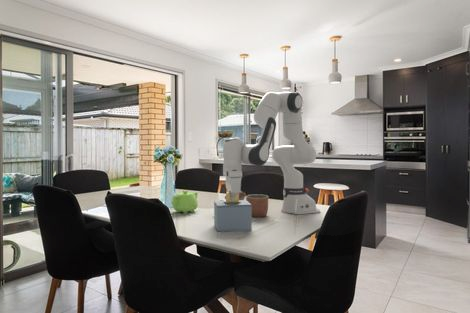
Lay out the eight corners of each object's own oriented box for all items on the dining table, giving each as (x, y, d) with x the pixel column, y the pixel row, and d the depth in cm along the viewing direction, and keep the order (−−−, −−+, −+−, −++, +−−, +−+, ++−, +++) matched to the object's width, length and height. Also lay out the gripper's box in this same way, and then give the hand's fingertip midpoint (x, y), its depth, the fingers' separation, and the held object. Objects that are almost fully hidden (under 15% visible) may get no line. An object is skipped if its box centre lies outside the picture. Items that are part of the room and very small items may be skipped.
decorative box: (217, 208, 197) (216, 193, 197) (231, 203, 215) (231, 188, 215) (236, 210, 191) (236, 194, 191) (249, 204, 210) (249, 189, 209)
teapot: (189, 207, 200) (189, 187, 200) (205, 210, 192) (205, 189, 192) (164, 213, 184) (164, 191, 184) (181, 216, 176) (180, 193, 176)
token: (238, 203, 154) (238, 192, 154) (239, 204, 152) (239, 193, 151) (225, 203, 153) (225, 193, 153) (226, 204, 151) (226, 194, 150)
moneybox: (246, 223, 160) (245, 199, 160) (251, 230, 148) (251, 204, 148) (214, 225, 157) (214, 201, 157) (217, 231, 145) (217, 205, 145)
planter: (264, 212, 185) (264, 194, 184) (271, 217, 173) (271, 197, 172) (243, 213, 182) (243, 194, 182) (249, 218, 170) (249, 198, 170)
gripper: (222, 169, 161) (222, 197, 162) (229, 173, 141) (229, 204, 142) (234, 169, 162) (234, 196, 163) (243, 173, 142) (243, 204, 143)
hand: (232, 200), depth 152 cm, fingers closed on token, 2 cm apart
